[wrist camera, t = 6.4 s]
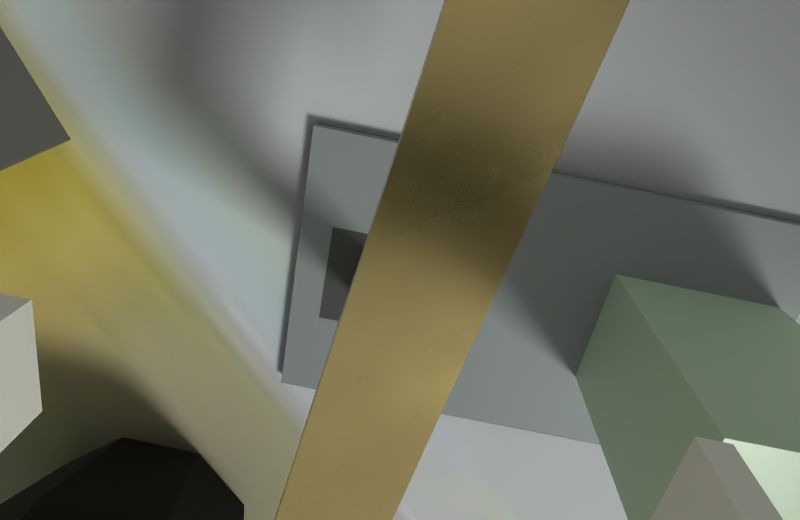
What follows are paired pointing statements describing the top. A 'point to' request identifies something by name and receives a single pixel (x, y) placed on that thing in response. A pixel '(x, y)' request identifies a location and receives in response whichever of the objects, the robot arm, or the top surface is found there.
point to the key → (442, 240)
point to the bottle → (128, 488)
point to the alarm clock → (23, 112)
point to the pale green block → (692, 388)
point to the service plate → (532, 277)
